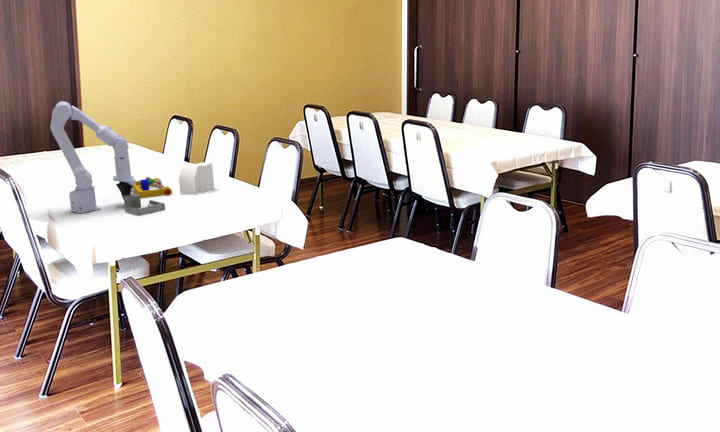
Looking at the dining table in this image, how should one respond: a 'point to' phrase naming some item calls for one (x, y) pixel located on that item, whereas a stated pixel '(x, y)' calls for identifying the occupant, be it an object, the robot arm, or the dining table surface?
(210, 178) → the white block
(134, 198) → the dice cube
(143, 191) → the multicolour toy assembly
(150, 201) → the bar
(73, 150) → the robot arm
